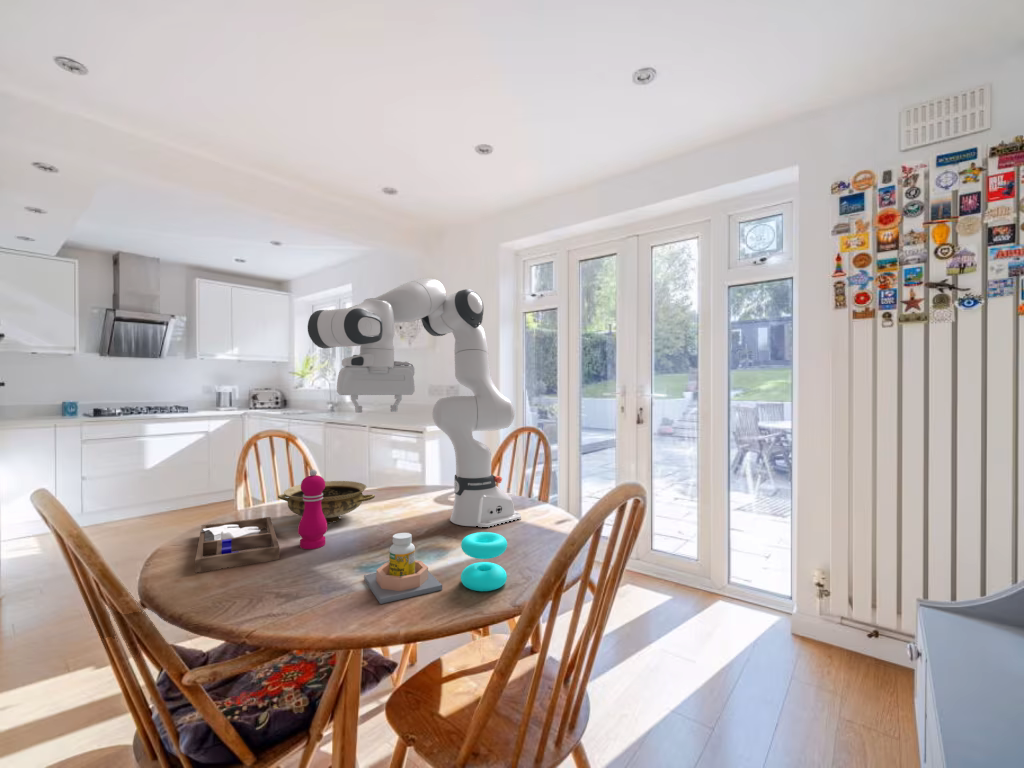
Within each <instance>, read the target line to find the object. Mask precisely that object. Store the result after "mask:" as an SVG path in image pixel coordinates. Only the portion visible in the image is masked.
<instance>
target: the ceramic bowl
mask: <svg viewBox="0 0 1024 768" xmlns="http://www.w3.org/2000/svg"><path fill="white" fill-rule="evenodd" d="M324 481H325V480H324ZM366 489H367V485H366V484H364V483H361V482H359V481H358V482H357V481H351V480H350V481H349V480H329V481H328V480H327V481H325V488H324V490H323V491H322V493H323V499H322V501H321V507H322V512H323V514H324V517H325V519H326V522H327V524H332V523H335V521H336V522H338V521H340V520H341V517H340V516H344V515H347V514H348V513H351V512H352V511H355V510H357V508H359V506H361V504H362V503H363V502H367V501H371V500H373V499H374V498H375V497H376V495H375V494H373V493H372V494H363V492H364V491H365V490H366ZM303 495H304V493H303V492H302V490H301V483H300V484H297V485H293V486H291V487H289V488H287V489H285V490H284V491H283V493H282V494H281V493H280V494H278V495H277V499H280V500H282V501H286V502H287V507H288V509H289V510H290V511H291V512H292V513H293V514H295V515H297V516H301V517H302V516H303V513H304V507H305V503H304V501H303ZM339 519H340V520H339Z"/></svg>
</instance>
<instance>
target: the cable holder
mask: <svg viewBox="0 0 1024 768" xmlns="http://www.w3.org/2000/svg"><path fill="white" fill-rule="evenodd" d="M234 552H240V551H239V550H235V551H232V548H231V539H225V540H222V554H228V553H234Z"/></svg>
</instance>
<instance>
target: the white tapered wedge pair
mask: <svg viewBox="0 0 1024 768" xmlns="http://www.w3.org/2000/svg"><path fill="white" fill-rule="evenodd" d="M200 532H205V542H206V541H213V540H220V539H227V538H235V537H242V536H249V535H256V534H261V529H259V528H258V527H244V528H239V525H223V526H220V527H213V528H206V529H201V528H200Z"/></svg>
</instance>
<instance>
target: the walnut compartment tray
mask: <svg viewBox="0 0 1024 768" xmlns="http://www.w3.org/2000/svg"><path fill="white" fill-rule="evenodd" d="M223 525H239V528H244V527H258V528H259V529H258V530H263V528H265V529H266V531H268V532H265V533H259V534H256V535H249V536H242V537H235V538H227V539H231V548H232V550H234V551H233V552H234V553H228V554H222V540H225V539H220V540H213V541H206V542H205V532H201V531H200V532H199V537H198V542H197V548H196V554H195V559H194V563H195V565H194V567H195V568H194V571H195V574H198V573H197V572H199V573H203V572H202V571H205V572H210V570H211V571H216V569H217V570H222V569H221V568H223V569H228V568H227V567H229V568H234V567H233V566H235V567H240V566H248V565H253V564H260V563H265V562H271V561H276V560H280V545H279V542H278V538H277V535H276V532H275V527H274V525H273V522H272V518H271V516H264V517H257V518H249V519H242V520H233V521H232V520H231V521H226V522H224V521H223V522H215V523H210V524H209V523H208V524H202V525H201V527H200V530H201V529H206V528H213V527H220V526H223ZM266 546H267V547H266ZM268 546H269V547H268ZM258 547H259V548H258ZM253 548H254V549H253ZM255 548H256V549H255ZM247 549H248V550H247ZM239 550H241V551H239ZM236 551H239V552H236ZM213 553H214V554H215V555H214V554H213ZM205 554H207V555H210V556H205Z"/></svg>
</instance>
